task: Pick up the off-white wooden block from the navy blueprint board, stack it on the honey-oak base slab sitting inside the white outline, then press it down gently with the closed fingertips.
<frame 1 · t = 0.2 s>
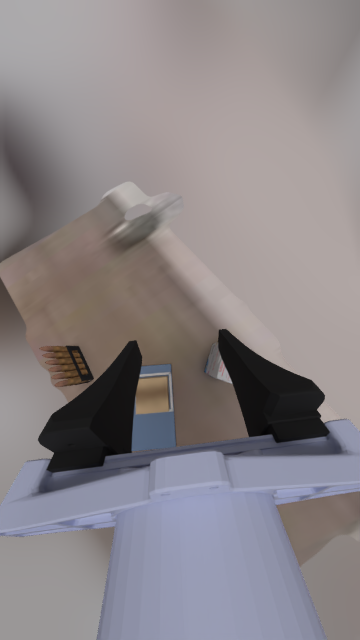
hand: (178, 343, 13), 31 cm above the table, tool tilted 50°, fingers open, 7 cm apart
ammunition clip: (83, 363, 44), on the table
ink box: (216, 360, 44), on the table
base slab: (153, 392, 41), resting on blueprint board
blueprint board: (139, 405, 41), on the table
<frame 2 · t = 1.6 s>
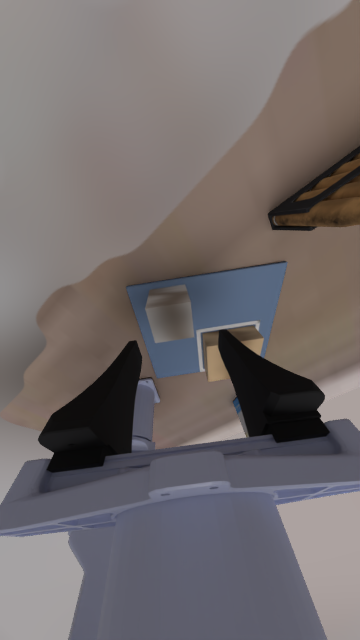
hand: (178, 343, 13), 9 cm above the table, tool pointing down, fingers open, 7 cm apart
top block: (170, 302, 20), resting on blueprint board
ammunition clip: (319, 185, 15), on the table
base slab: (226, 348, 26), resting on blueprint board
blueprint board: (207, 330, 24), on the table
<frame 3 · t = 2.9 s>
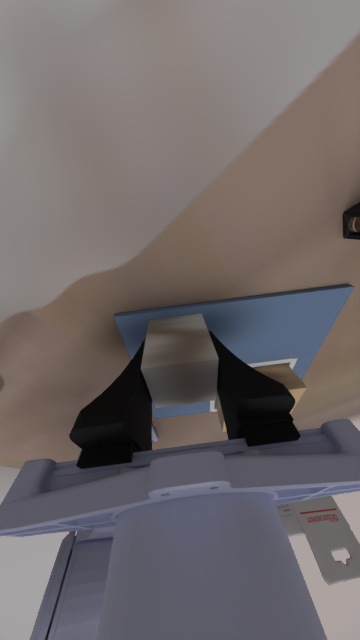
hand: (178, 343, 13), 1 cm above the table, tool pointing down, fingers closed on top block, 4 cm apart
top block: (178, 337, 14), resting on blueprint board, touching gripper
ink box: (267, 431, 30), on the table
base slab: (247, 388, 20), resting on blueprint board
blueprint board: (225, 367, 18), on the table
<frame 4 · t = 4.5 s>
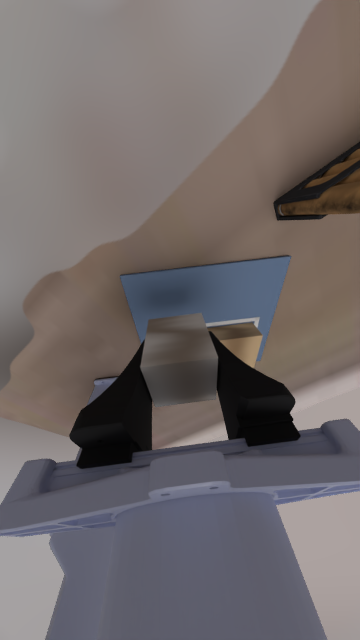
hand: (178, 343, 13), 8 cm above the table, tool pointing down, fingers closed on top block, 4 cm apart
top block: (177, 336, 14), point 7 cm above the table, touching gripper
ammunition clip: (329, 174, 14), on the table
base slab: (223, 345, 25), resting on blueprint board
blueprint board: (205, 326, 23), on the table
when the fingers open (5 cm above the table, at t = 6.2 s): top block stays where it is, resting on base slab.
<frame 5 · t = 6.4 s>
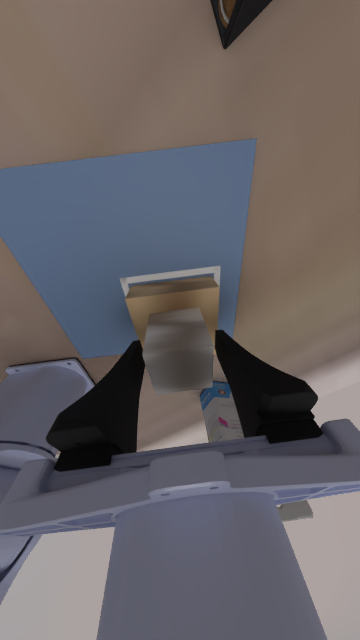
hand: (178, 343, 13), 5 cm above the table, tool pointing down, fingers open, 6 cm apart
top block: (177, 330, 15), point 3 cm above the table, touching base slab
ink box: (224, 389, 28), on the table
base slab: (175, 314, 17), resting on blueprint board, touching top block
blueprint board: (142, 282, 16), on the table
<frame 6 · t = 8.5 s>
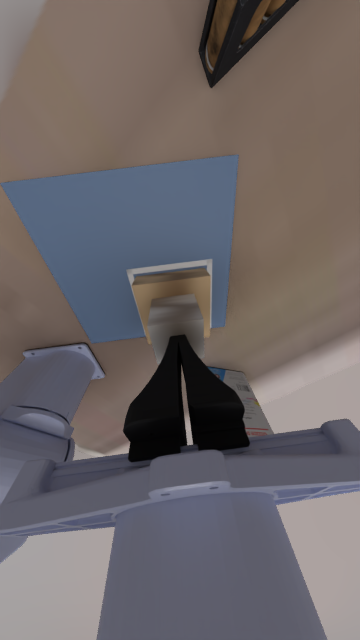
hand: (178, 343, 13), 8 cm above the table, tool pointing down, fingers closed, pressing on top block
top block: (175, 314, 17), point 3 cm above the table, touching base slab, gripper
ink box: (219, 375, 31), on the table
base slab: (174, 302, 20), resting on blueprint board, touching top block
blueprint board: (145, 274, 18), on the table
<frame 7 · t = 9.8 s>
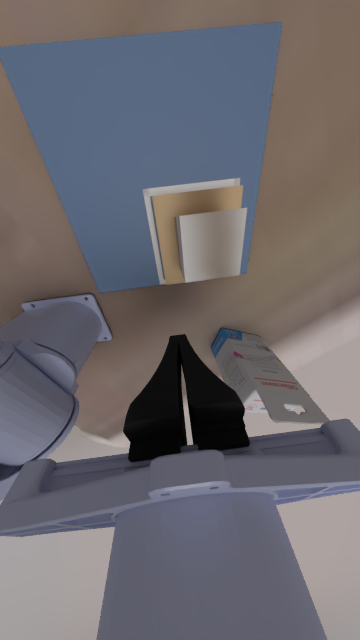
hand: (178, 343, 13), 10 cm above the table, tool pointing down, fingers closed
top block: (199, 241, 15), point 3 cm above the table, touching base slab
ink box: (234, 341, 29), on the table
base slab: (194, 238, 18), resting on blueprint board, touching top block
blueprint board: (163, 199, 16), on the table
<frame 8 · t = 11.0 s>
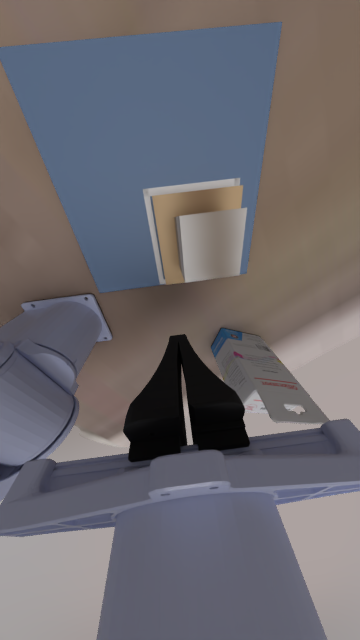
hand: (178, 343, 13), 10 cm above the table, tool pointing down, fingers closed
top block: (199, 241, 15), point 3 cm above the table, touching base slab
ink box: (234, 341, 29), on the table
base slab: (194, 238, 18), resting on blueprint board, touching top block
blueprint board: (163, 199, 16), on the table
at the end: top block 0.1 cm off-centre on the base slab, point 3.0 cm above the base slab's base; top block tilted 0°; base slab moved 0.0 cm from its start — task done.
